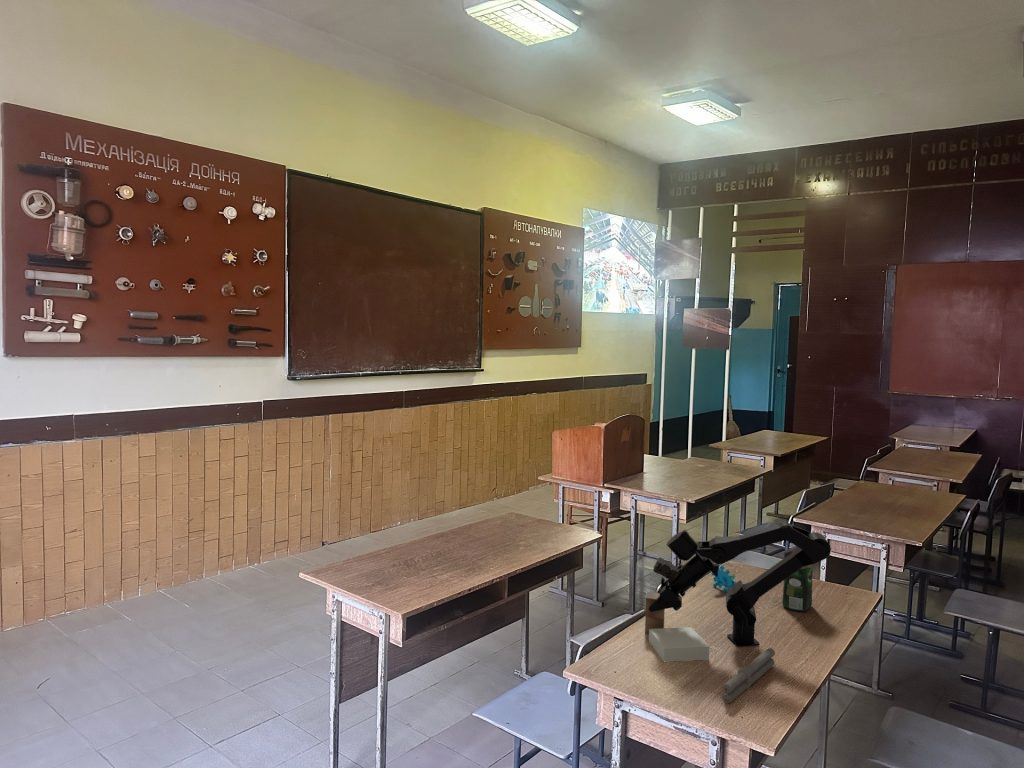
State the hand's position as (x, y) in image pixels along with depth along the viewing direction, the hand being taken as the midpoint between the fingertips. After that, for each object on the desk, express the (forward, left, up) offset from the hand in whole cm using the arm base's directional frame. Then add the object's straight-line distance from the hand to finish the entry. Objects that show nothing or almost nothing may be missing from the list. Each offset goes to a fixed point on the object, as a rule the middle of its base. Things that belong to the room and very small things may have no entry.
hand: (650, 606), depth 196 cm
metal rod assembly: (-32, -14, -7) cm, 36 cm away
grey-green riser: (-14, -3, -7) cm, 16 cm away
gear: (+29, -35, -7) cm, 46 cm away
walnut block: (-1, -1, -7) cm, 7 cm away
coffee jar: (+12, -51, -7) cm, 53 cm away
